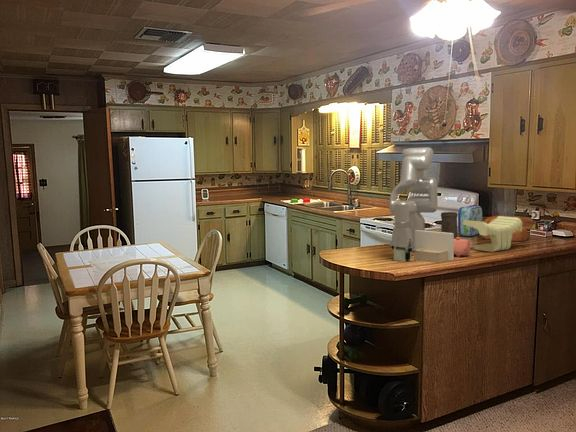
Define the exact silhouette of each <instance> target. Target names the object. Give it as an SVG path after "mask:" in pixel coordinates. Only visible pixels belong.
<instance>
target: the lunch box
mask: <svg viewBox="0 0 576 432" xmlns="http://www.w3.org/2000/svg"><path fill="white" fill-rule="evenodd" d="M457 215H458V216H457V233H458V234H459V236H460V237H461V236H462V237H475V236H478V235H480V234H479V231H478V229H475V228H473V227H470V226H467V225H463V220H470V221H480V222H483V209H482V207H481V206H480V205H477V204H471V205H468V206H462V207H461V206H460V207H459V208H458V212H457Z"/></svg>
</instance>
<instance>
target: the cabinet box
mask: <svg viewBox="0 0 576 432" xmlns="http://www.w3.org/2000/svg"><path fill="white" fill-rule="evenodd" d="M405 253H406V250H405V248H402V247H399V248H397V249H394V251H393V261H395V262H401V263H402V262H403V263H404V262H409V261H411V260H412V251H411V252H410V260H405Z"/></svg>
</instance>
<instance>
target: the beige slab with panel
mask: <svg viewBox="0 0 576 432" xmlns="http://www.w3.org/2000/svg"><path fill="white" fill-rule="evenodd" d="M454 256H455V255H454V233H445V232H441V231H434V230H433V231H432V230H425V231H421V230H415V250H414V251H413V260H416V261H423V262H429V263H437V264H438V263H442V262H446V261H454Z"/></svg>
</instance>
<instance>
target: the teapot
mask: <svg viewBox="0 0 576 432" xmlns="http://www.w3.org/2000/svg"><path fill="white" fill-rule="evenodd" d="M471 242H472V240H468V239H464V238H461V236H460V237H459V236H457V237H456V239H454V256H456V258H461V256H462V257H467V255H469V254H470V251H471V249H470V248H471V247H470V246H471V245H470V244H471Z"/></svg>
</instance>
